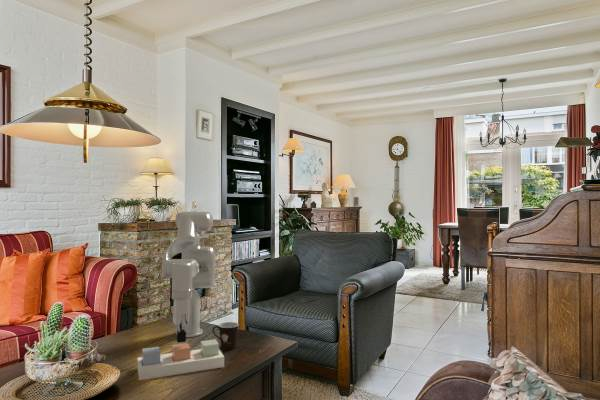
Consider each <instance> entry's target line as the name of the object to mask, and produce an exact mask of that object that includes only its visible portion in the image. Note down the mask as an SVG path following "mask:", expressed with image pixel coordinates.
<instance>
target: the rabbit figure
mask: <svg viewBox="0 0 600 400" xmlns="http://www.w3.org/2000/svg"><path fill="white" fill-rule="evenodd" d="M106 357H107V356H106V354H103V353H102V354H100V353H97V363H98V362H101V360H102V359H103V361H105V359H106Z"/></svg>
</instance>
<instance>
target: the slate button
mask: <svg viewBox="0 0 600 400" xmlns="http://www.w3.org/2000/svg"><path fill="white" fill-rule="evenodd" d="M141 354H142V355H141V357H142V364H143V366H146V365H153V364H159V363H160V355H161V349H160V346H153V347H147V348H146V347H145V348H142V349H141Z"/></svg>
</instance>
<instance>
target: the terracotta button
mask: <svg viewBox="0 0 600 400" xmlns="http://www.w3.org/2000/svg"><path fill="white" fill-rule="evenodd" d="M191 349H192V348H191V346H190V344H189V343H188V342H182V343H177V344H172V345H171V353H172V359H173V361H180V360H187V359H190V351H191Z"/></svg>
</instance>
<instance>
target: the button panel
mask: <svg viewBox="0 0 600 400" xmlns="http://www.w3.org/2000/svg"><path fill="white" fill-rule="evenodd" d="M136 361H137V362H136V363H137V364H136V365H137V366H136V368H137V376H138V380H139V381H145V380H150V379H155V378H164V377H168V376H169V377H171V376H176V375H182V374H189V373H195V372H201V371H207V370H213V369H219V368H225V355H224V354H223V352H222V350H221V349H219V355H215V356H208V357H202V355H201V348H198V349H192V350H191V351H190V359H187V360H180V361H173V359H172V352H169V353H164V354H163V353H160V363H159V364H153V365H146V366H143V364H142V356H140V357H137V358H136Z"/></svg>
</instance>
